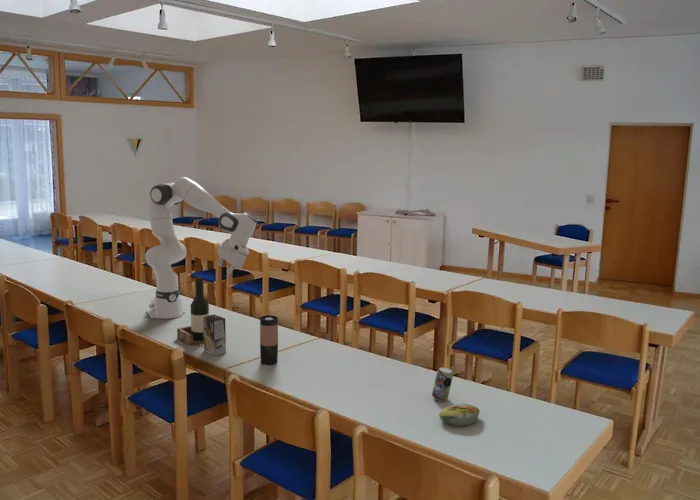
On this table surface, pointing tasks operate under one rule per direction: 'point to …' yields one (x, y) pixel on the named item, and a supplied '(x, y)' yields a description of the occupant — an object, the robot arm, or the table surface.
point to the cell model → (459, 414)
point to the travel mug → (269, 339)
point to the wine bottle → (198, 311)
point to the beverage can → (442, 384)
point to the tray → (187, 336)
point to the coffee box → (214, 334)
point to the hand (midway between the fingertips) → (223, 269)
